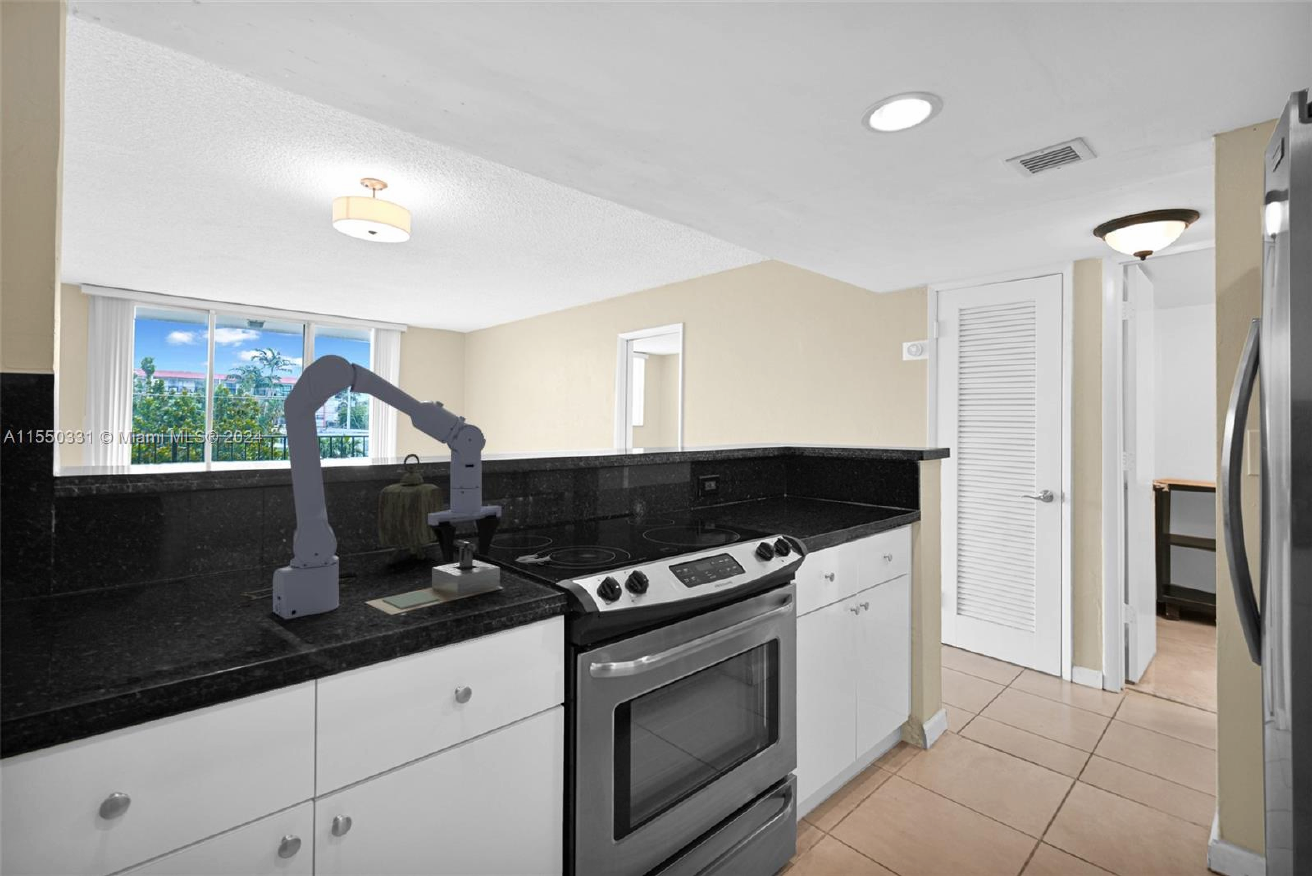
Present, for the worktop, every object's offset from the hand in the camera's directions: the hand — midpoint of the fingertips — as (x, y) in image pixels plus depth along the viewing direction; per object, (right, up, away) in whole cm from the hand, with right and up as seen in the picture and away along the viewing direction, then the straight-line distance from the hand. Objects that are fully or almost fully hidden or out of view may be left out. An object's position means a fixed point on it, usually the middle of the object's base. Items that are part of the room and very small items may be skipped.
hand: (466, 558), depth 118 cm
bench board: (-4, -7, -4) cm, 9 cm away
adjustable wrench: (+1, -7, +20) cm, 21 cm away
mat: (-7, -6, -8) cm, 13 cm away
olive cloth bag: (-21, -6, +28) cm, 35 cm away
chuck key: (0, -4, 0) cm, 4 cm away
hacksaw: (-33, -7, +2) cm, 34 cm away
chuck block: (0, -6, 0) cm, 6 cm away
